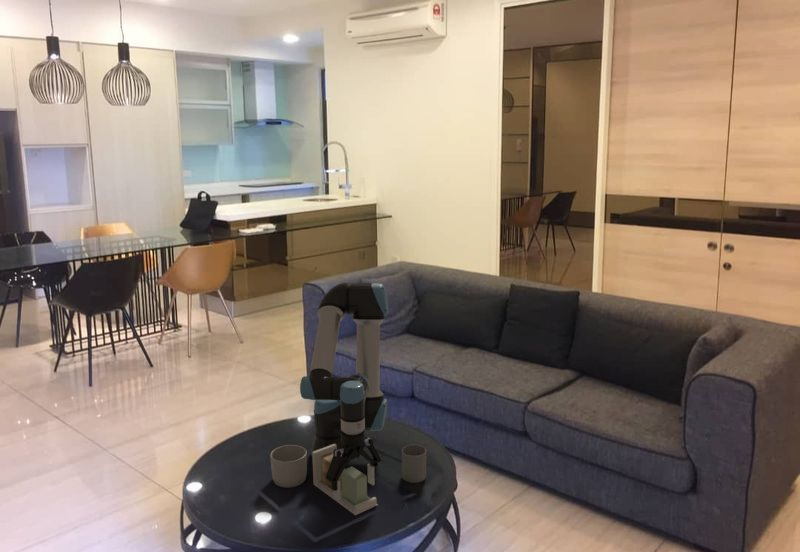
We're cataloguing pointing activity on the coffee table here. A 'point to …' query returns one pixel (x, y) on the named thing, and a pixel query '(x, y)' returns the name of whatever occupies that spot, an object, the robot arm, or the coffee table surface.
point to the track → (318, 483)
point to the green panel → (354, 486)
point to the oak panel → (325, 466)
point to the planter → (289, 465)
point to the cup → (413, 463)
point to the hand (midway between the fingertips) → (354, 490)
